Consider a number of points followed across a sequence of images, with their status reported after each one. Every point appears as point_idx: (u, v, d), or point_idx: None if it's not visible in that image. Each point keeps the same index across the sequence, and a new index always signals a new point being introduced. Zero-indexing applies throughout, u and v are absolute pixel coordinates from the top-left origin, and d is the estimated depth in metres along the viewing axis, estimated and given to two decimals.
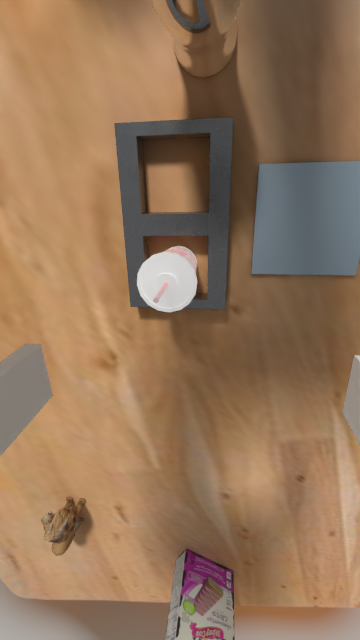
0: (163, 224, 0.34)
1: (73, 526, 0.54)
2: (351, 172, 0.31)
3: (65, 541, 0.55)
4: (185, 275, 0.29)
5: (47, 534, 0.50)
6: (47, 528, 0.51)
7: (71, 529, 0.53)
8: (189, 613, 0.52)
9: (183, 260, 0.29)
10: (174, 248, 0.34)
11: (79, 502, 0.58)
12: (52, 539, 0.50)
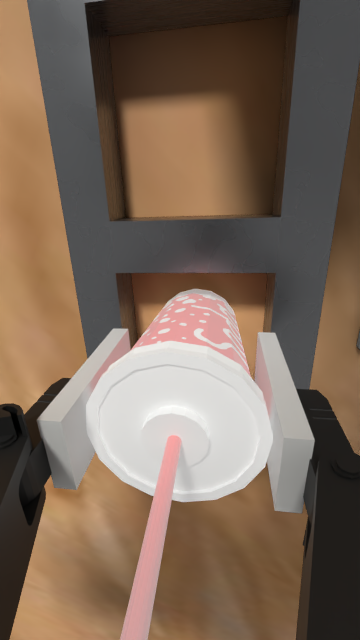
0: (164, 247, 0.14)
1: None
2: None
3: None
4: (236, 416, 0.09)
5: None
6: None
7: None
8: None
9: (232, 376, 0.09)
10: (191, 303, 0.14)
11: None
12: None
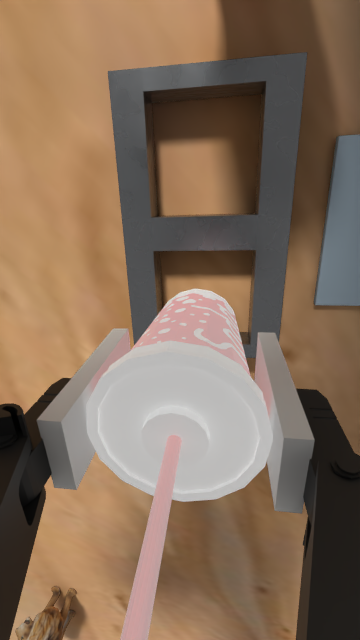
0: (185, 234, 0.22)
1: (59, 635, 0.41)
2: None
3: None
4: (236, 415, 0.09)
5: None
6: None
7: None
8: None
9: (232, 376, 0.09)
10: (191, 303, 0.14)
11: (68, 594, 0.46)
12: None
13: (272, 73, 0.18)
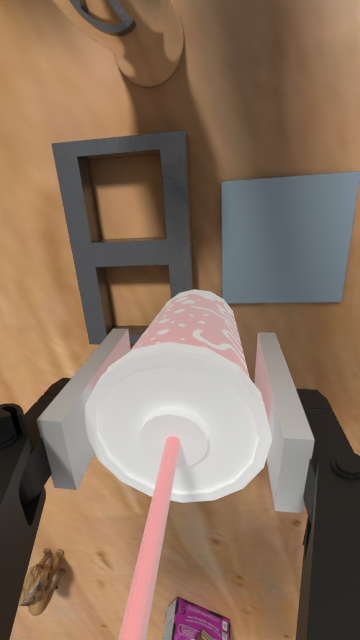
0: (117, 254, 0.30)
1: (48, 584, 0.50)
2: (328, 186, 0.27)
3: (41, 600, 0.51)
4: (234, 416, 0.09)
5: None
6: None
7: (45, 589, 0.49)
8: None
9: (231, 377, 0.09)
10: (190, 303, 0.14)
11: (57, 554, 0.54)
12: (22, 603, 0.46)
13: (163, 144, 0.26)
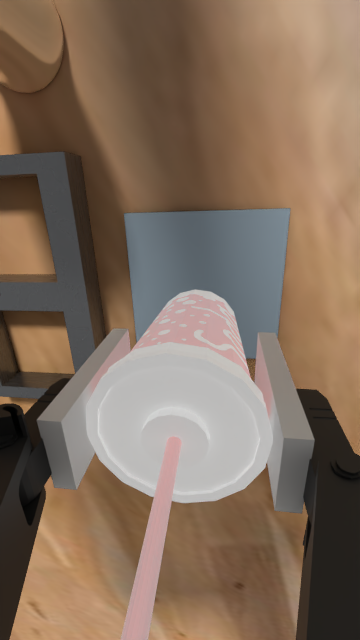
0: (1, 296, 0.24)
1: None
2: (252, 225, 0.22)
3: None
4: (236, 417, 0.09)
5: None
6: None
7: None
8: None
9: (232, 377, 0.09)
10: (191, 303, 0.14)
11: None
12: None
13: (40, 167, 0.20)
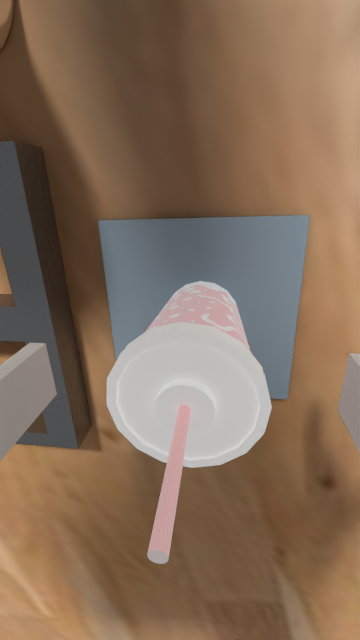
0: None
1: None
2: (260, 236, 0.17)
3: None
4: (239, 387, 0.11)
5: None
6: None
7: None
8: None
9: (236, 351, 0.10)
10: (197, 293, 0.16)
11: None
12: None
13: None
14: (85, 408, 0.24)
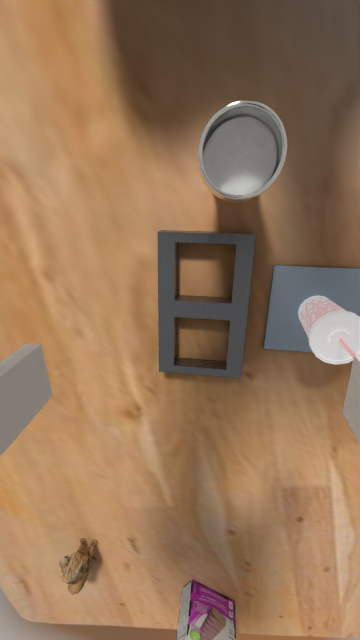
0: (192, 309, 0.41)
1: (87, 567, 0.60)
2: (350, 277, 0.38)
3: (80, 581, 0.61)
4: None
5: (65, 577, 0.56)
6: (64, 571, 0.57)
7: (85, 571, 0.59)
8: None
9: None
10: (326, 300, 0.37)
11: (92, 543, 0.65)
12: (69, 581, 0.56)
13: (239, 241, 0.37)
14: None
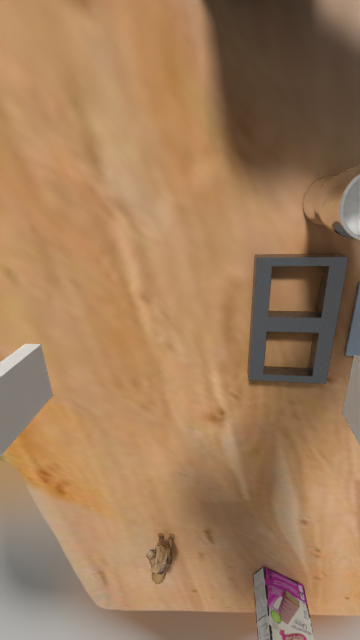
0: (284, 324, 0.45)
1: (171, 559, 0.66)
2: None
3: (164, 572, 0.67)
4: None
5: (154, 568, 0.62)
6: (153, 562, 0.63)
7: (170, 562, 0.65)
8: (277, 622, 0.62)
9: None
10: None
11: (169, 537, 0.70)
12: (158, 572, 0.62)
13: (332, 263, 0.41)
14: None
